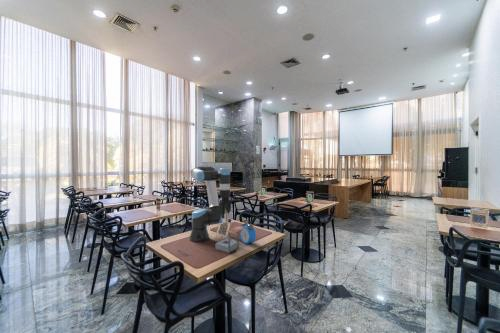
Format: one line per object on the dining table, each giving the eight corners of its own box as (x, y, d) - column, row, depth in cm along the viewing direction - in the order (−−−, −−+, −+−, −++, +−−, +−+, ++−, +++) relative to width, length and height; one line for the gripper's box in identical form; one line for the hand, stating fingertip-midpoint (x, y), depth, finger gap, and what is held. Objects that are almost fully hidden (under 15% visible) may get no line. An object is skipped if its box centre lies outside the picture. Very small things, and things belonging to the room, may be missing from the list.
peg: (222, 227, 154) (222, 210, 154) (225, 226, 156) (224, 210, 156) (225, 228, 152) (225, 211, 152) (228, 227, 155) (227, 210, 154)
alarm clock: (239, 241, 167) (239, 222, 167) (245, 239, 172) (245, 220, 171) (250, 246, 158) (250, 226, 157) (256, 244, 162) (256, 224, 161)
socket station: (215, 249, 153) (215, 228, 152) (225, 243, 163) (225, 224, 162) (233, 254, 144) (233, 232, 144) (243, 248, 154) (243, 227, 154)
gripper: (221, 190, 146) (222, 225, 146) (235, 188, 158) (235, 220, 158) (213, 190, 150) (214, 223, 150) (227, 188, 162) (228, 219, 163)
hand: (225, 222), depth 154 cm, fingers closed on peg, 2 cm apart
